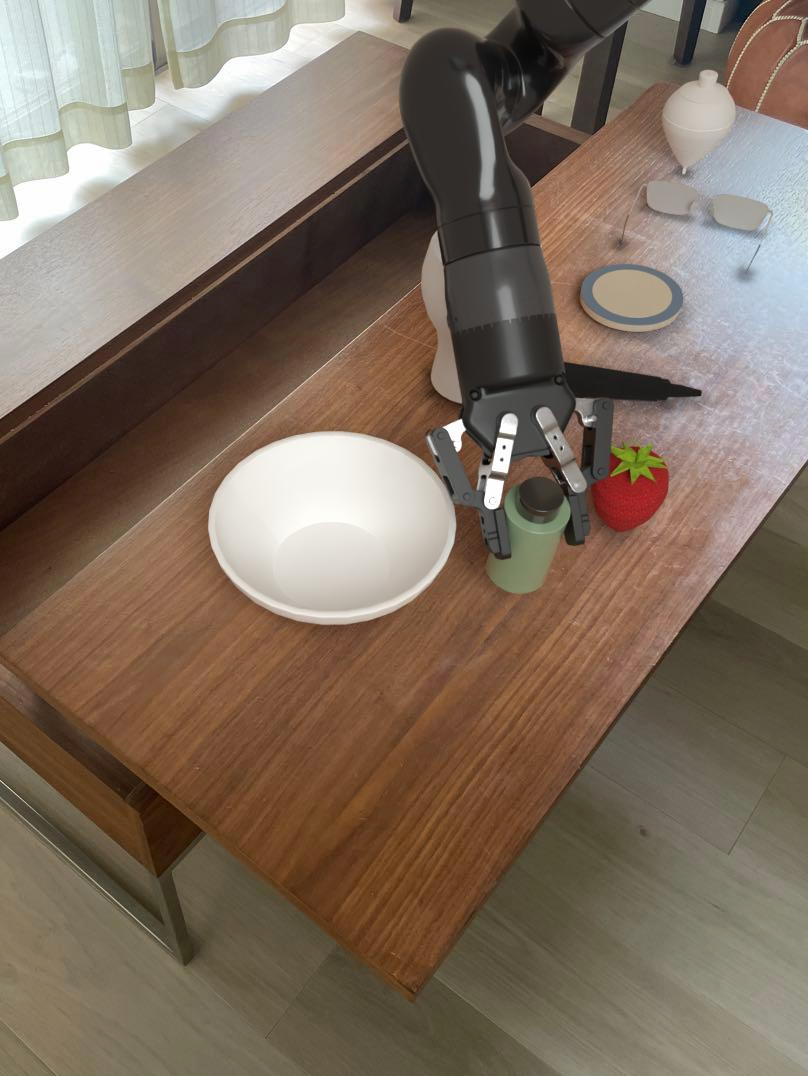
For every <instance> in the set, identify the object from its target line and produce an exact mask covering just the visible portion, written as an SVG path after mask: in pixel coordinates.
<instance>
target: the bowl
mask: <svg viewBox="0 0 808 1076" xmlns="http://www.w3.org/2000/svg"><path fill="white" fill-rule="evenodd" d="M455 511H456V510H455V505H454V503H453V502H452V501H451V499H450V497H449V494H448V492H447V490H446V487H445V485H444V483H443V480H442V478H441V477H440V476H439V475H438V473H437V472H436V471H434V469H433V468H431V466H429V464H427V463H426V462H425V461H424V459H422V458H420V457H419V456H418V455H416V454H414V453H412V451H409V450H408V449H407V448H405V447H403V446H400V445H398V444H395V443H393V442H391V441H388V440H387V439H385V438H380V437H377V436H372V435H369V434H366V433H361V432H360V433H359V432H352V431H343V430H330V431H329V430H328V431H327V430H326V431H313V432H312V431H311V432H307V433H301V434H294V435H292V436H288V437H285V438H281V439H279V440H275V441H273V442H271V443H269V444H266V445H265V446H263V447H261V448H259V449H256V450H254V451H253V452H252V453H251V454H249V455H247V456H246V457H245V458H243V459H242V460H241V461H239V462H238V463H237V464H236V465H235V466H234V467H233V468H232V469H231V470H230V471H229V473H228V474H227V475H226V476H225V477H224V478H223V479H222V481H221V483H220V485H219V486H218V487H217V489H216V491H215V492H214V494H213V498H212V501H211V504H210V507H209V511H208V523H207V525H208V526H207V530H208V535H209V540H210V541H209V542H210V546H211V549H212V551H213V553H214V556H215V557H216V560H217V562H218V563H219V566H220V569H221V570H222V571H223V572H224V574H225V575H226V576H227V577H228V579H229V580H230V582H231V583H233V585H234V586H235V587H236V589H238V590H239V591H240V592H241V593H242V594H244V595H245V596H246V597H247V598H248V599H250V600H251V601H252V602H253V603H255V604H256V605H257V606H260V607H262V608H264V609H265V610H267V611H270V612H271V613H273V614H275V615H278V616H281V617H284V618H287V619H290V620H293V621H296V622H300V623H301V622H302V623H307V624H314V625H321V626H327V625H328V626H331V625H333V626H334V625H336V626H337V625H342V626H343V625H351V624H357V623H362V622H367V621H372V620H375V619H378V618H380V617H383V616H386V615H389V614H392V613H394V612H395V611H397V610H399V609H400V608H403V607H404V606H406V605H408V604H409V603H411V602H412V601H414V600H415V599H416V598H417V597H418V596H419V595H421V594H422V593H423V592H425V590H427V588H428V587H429V586H430V585H432V583H433V582H434V581H435V579H436V578H437V576H438V575H439V574H440V572H441V571H442V569H443V568H444V567H445V566H446V563H447V561H448V558H449V556H450V554H451V551H452V549H453V547H454V544H455V537H456V532H457V518H456V512H455Z"/></svg>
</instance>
